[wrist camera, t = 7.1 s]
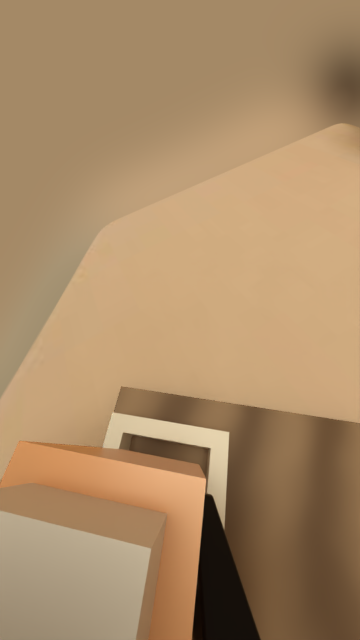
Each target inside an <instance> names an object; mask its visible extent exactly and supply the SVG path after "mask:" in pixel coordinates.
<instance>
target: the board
mask: <svg viewBox="0 0 360 640" xmlns="http://www.w3.org/2000/svg"><path fill="white" fill-rule="evenodd" d="M114 413H120V414H126V415H132V416H138V417H143V418H149V419H155V420H161V421H167V422H173V423H178V424H184V425H190V426H196V427H202V428H208V429H214V430H219V431H225V432H229V447H228V467H227V487H226V507H225V527H224V531H225V534H226V537H227V540H228V543H229V546H230V549H231V552H232V555H233V558H234V561H235V564H236V567H237V569H238V572H239V575H240V578H241V581H242V584H243V587H244V590H245V593H246V596H247V599H248V602H249V605H250V608H251V611H252V614H253V617H254V620H255V623H256V626H257V629H258V632H259V635H260V638H261V640H360V423H353V422H347V421H341V420H334V419H328V418H321V417H315V416H308V415H302V414H296V413H289V412H283V411H276V410H270V409H263V408H257V407H250V406H244V405H238V404H231V403H225V402H218V401H212V400H205V399H199V398H192V397H186V396H180V395H173V394H167V393H160V392H154V391H147V390H141V389H134V388H128V387H122V386H121V389H120V393H119V396H118V400H117V403H116V407H115V410H114ZM208 450H209V449H206V448H200V447H195V446H189V445H184V444H178V443H173V442H167V441H162V440H156V439H151V438H145V437H140V436H134V435H133V436H132V440H131V444H130V448H129V451H134V452H139V453H144V454H149V455H154V456H159V457H164V458H169V459H174V460H179V461H184V462H189V463H194V464H199V465H200V467H201V469H202V471H203V473H204V475H205V477H206V473H207V461H208Z"/></svg>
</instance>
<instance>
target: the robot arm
mask: <svg viewBox="0 0 360 640" xmlns="http://www.w3.org/2000/svg"><path fill="white" fill-rule="evenodd" d="M192 640H261V638H260V635H259V632H258V629H257V626H256V623H255V620H254V617H253V614H252V611H251V608H250V605H249V602H248V599H247V596H246V593H245V590H244V587H243V584H242V581H241V578H240V575H239V572H238V569H237V567H236V564H235V561H234V558H233V555H232V552H231V549H230V546H229V543H228V540H227V537H226V534H225V531H224V528H223V525H222V522H221V519H220V516H219V513H218V510H217V507H216V504H215V501H214V498H213V496H212V495H211V494H207V493H205V498H204V509H203V520H202V531H201V542H200V553H199V564H198V575H197V586H196V597H195V608H194V619H193V630H192Z"/></svg>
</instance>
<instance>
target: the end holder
mask: <svg viewBox="0 0 360 640" xmlns="http://www.w3.org/2000/svg"><path fill="white" fill-rule="evenodd" d="M133 435H134V436H140V437H145V438H151V439H156V440H162V441H167V442H173V443H178V444H184V445H189V446H195V447H200V448H206V449H209V450H208V461H207V473H206V487H205V493H207V494H211V495H212V496H213V498H214V501H215V504H216V507H217V510H218V513H219V516H220V519H221V522H222V525H223V528H224V527H225V507H226V487H227V467H228V447H229V432H225V431H219V430H214V429H208V428H202V427H196V426H190V425H184V424H178V423H173V422H167V421H161V420H155V419H149V418H143V417H138V416H132V415H126V414H120V413H114V412H112V416H111V419H110V423H109V426H108V430H107V433H106V437H105V440H104V444H103V447H102V448H113V449H123V450H128V451H129V448H130V444H131V440H132V436H133Z"/></svg>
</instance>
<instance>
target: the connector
mask: <svg viewBox="0 0 360 640" xmlns="http://www.w3.org/2000/svg"><path fill="white" fill-rule="evenodd" d="M205 487H206V477H205V475H204V473H203V471H202V469H201V467H200V465H199V464H194V463H189V462H184V461H179V460H174V459H169V458H164V457H159V456H154V455H149V454H144V453H139V452H134V451H128V450H123V449H113V448H101V447H89V446H77V445H65V444H53V443H41V442H29V441H19V443H18V445H17V447H16V449H15V451H14V454H13V456H12V458H11V460H10V462H9V465H8V467H7V469H6V471H5V473H4V476H3V478H2V480H1V482H0V640H192V630H193V619H194V608H195V597H196V586H197V575H198V564H199V553H200V542H201V531H202V520H203V509H204V498H205Z"/></svg>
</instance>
